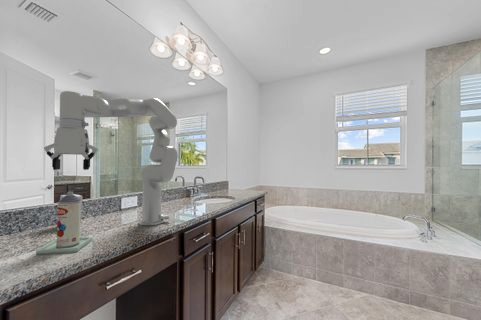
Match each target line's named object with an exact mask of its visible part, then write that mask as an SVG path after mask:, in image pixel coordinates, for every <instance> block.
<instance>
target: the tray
mask: <svg viewBox="0 0 481 320" xmlns="http://www.w3.org/2000/svg"><path fill="white" fill-rule="evenodd" d="M93 239H94V236H82V237H81V236H80V242H79V244H78V245H77V246H74V247H70V248H60V249H58V248H56V240H57V238H56V239H55V240H52V241H51V242H49V243H47V244H45V245H43V246H42V247H41V248H38V249H37V250H35V255H36V256H44V255H58V254H71V253H78V252H80V251H81V250H82V249H83V248H85V247H86V246H87V245H88V244H90V243H91V242H93Z"/></svg>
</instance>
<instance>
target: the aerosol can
mask: <svg viewBox="0 0 481 320" xmlns="http://www.w3.org/2000/svg"><path fill="white" fill-rule="evenodd" d="M73 194H74V191H67V192H66V194H65V195H66V196H65V197H63V198H62V199H61V200H60V199H59V200H58V201H57V202H58V203H57V217H56V218H57V222H56V239H57V240H56V239H55V240H56V248H58V249H60V248H70V247H74V246H77V245H78V244H79V242H80V237H81V224H80V216H81V217H82V211H81V201H80V200H81V199H78V197H76V196H75V195H73Z"/></svg>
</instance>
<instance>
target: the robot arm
mask: <svg viewBox="0 0 481 320" xmlns="http://www.w3.org/2000/svg"><path fill="white" fill-rule="evenodd" d="M125 117H126V118H129V117H130V118H132V117H136V118H137V117H138V118H139V117H149V119H148V121H149V122H148V123H149V127H150V128H151V130H152V132H153V135H154V137H153V138H154V140H153V143H152V146H151V150H150V153H149V160H150V162H152V163H153V164H147V165H145V166H144V167H143V168H142V169H141V174H140V175H141V181H142V204H141V205H142V206H141V209H142V210H141V211H142V212H141V219H140V220H139V221H138V225H140V226H147V227H149V226H156V225H161V224H163V223H164V222H165V220H169V219H170V215H168V214H165V215H164V214H163V212H162V194H163V192H162V191H163V190H162V185H161V183H162V184H163V183H168V182H170V181H171V180H172V178H173V176H174V174H175V169H176V166H177V162H178V158H179V155H178V150H177V149H176V148H175V146H172V145H170V144H171V143H170V142H171V137H170V135H169V133H168V131H167V130H172V129H175V128H176V127H177V125H178V120H177V117H176V116H175V115H174V113H173V112H172V111H171V110H170V108H168V106H167V105H166V104H165V103H164V102H163V101H161V100H160V99H158V98H155V97H152V98H146V99H137V98H116V99H109V100H105V99H104V98H102V97H99V96H91V95H85V94H82V93H80V92H76V91H69V90H64V91H62V92H61V93H60V94H59V125H58V127H57V128H56V131H55V136H54V142H53V143H52V144H48V145H46V146H44V148H43V149H44V152H45V153H46V155H47V156H48V157H49V158H50V159H51V161H52V163H51V164H52V165H51V167H52V170H53V171H57V170H58V171H59V170H61V157H62V156H63V155H76V156H77V155H81V156H82V157H83V158H84V159H83V160H82V161H83V162H82V169H83V170H84V171H86V170H89V169H90V168H91V160H92V158H94V157H95V156H96V154H97V152H98V151H99V148H98V147H96V146H93V145H92V144H90V139H89V138H90V137H89V132H88V129H86V127H89V122H86V121H85V120H86V119H85V118H89V119H90V118H125ZM90 150H91V152H90ZM53 151H54V152H53Z"/></svg>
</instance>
